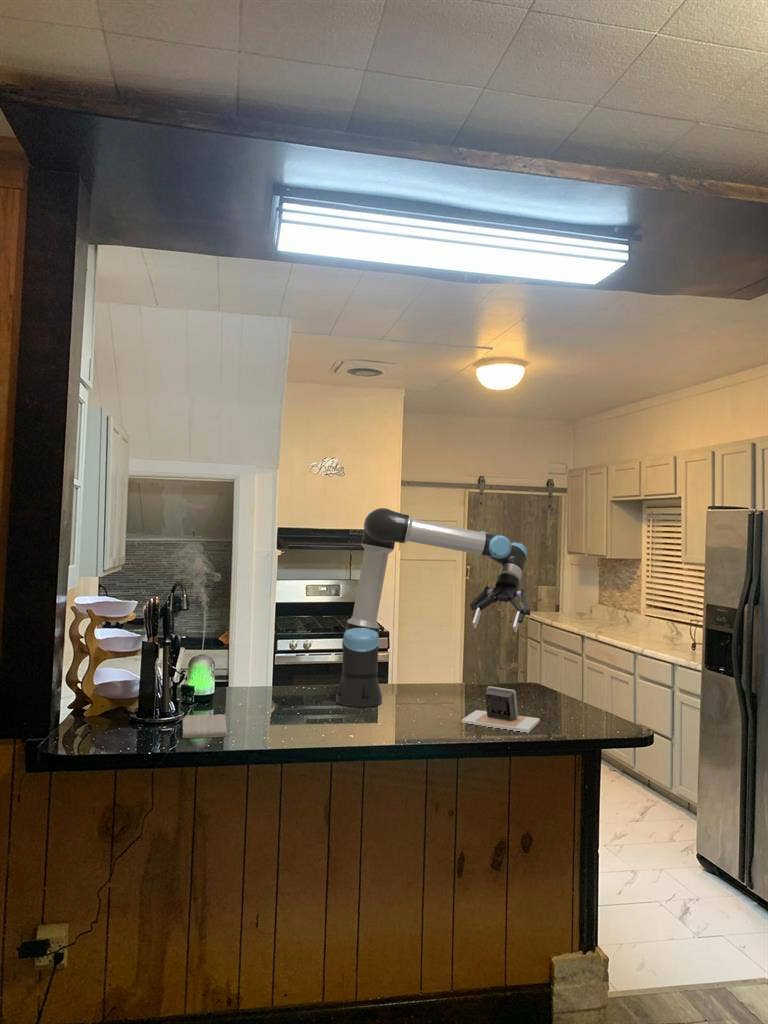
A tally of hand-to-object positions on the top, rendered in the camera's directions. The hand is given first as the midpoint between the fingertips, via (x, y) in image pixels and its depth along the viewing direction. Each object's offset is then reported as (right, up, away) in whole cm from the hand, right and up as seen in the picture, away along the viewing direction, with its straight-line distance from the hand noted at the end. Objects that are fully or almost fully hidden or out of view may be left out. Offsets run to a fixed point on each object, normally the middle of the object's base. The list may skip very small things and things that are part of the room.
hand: (494, 627), depth 233 cm
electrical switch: (-1, -25, -18) cm, 31 cm away
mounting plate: (-1, -26, -18) cm, 32 cm away
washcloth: (-85, -23, -37) cm, 95 cm away
